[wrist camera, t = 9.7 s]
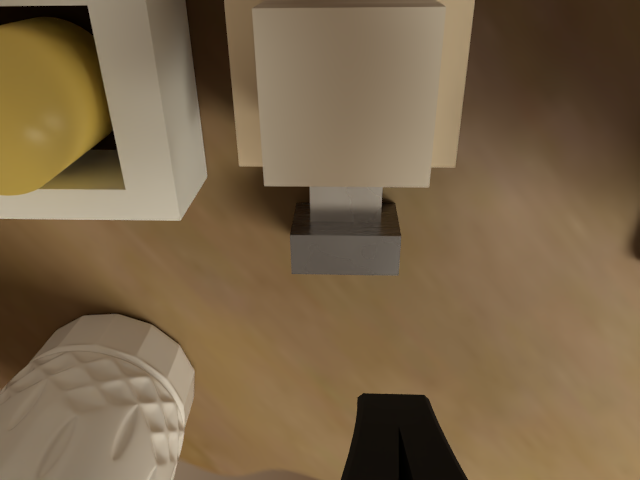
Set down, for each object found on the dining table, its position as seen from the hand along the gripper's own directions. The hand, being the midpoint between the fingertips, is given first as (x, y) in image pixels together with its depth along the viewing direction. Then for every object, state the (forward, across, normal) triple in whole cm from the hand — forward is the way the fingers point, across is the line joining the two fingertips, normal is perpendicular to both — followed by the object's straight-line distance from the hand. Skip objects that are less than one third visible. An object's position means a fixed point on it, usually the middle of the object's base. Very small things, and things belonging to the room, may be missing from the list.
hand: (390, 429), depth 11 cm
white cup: (+10, +11, +8) cm, 17 cm away
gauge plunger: (+9, +10, -5) cm, 14 cm away
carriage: (+10, +1, -6) cm, 12 cm away
